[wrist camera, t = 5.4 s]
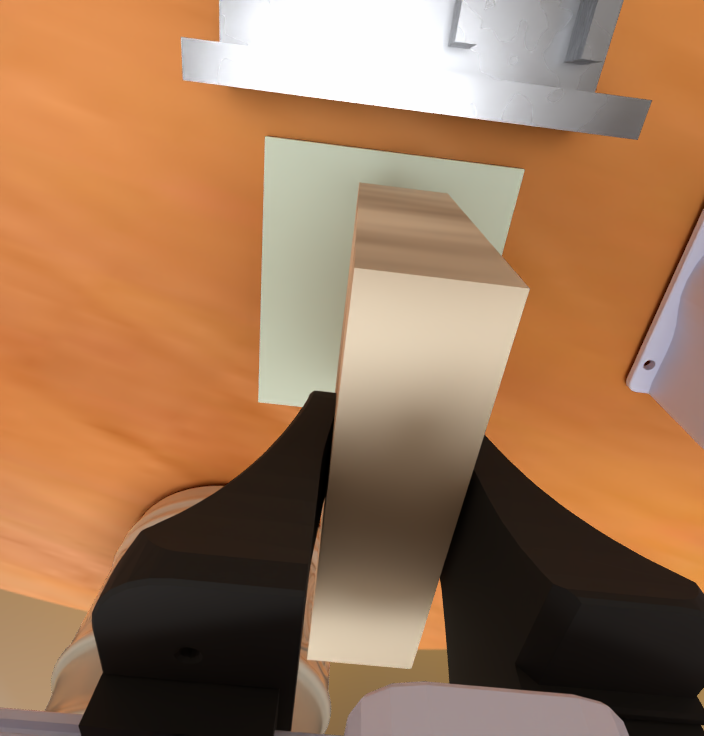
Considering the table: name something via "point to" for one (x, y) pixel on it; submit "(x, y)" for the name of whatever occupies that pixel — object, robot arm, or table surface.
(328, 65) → the rack
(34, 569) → the table surface
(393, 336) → the wooden block
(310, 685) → the jar
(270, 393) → the mat
